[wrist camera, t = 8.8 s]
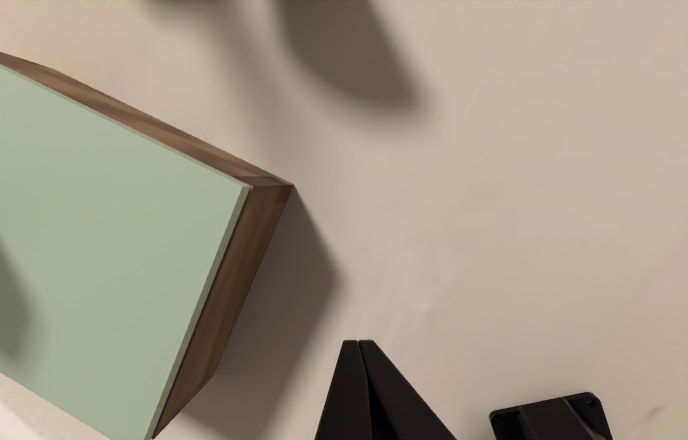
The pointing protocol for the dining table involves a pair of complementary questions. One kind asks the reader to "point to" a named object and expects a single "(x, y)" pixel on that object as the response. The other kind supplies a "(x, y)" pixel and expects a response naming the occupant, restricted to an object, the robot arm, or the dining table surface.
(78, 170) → the lid
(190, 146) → the walnut box
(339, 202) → the dining table surface
